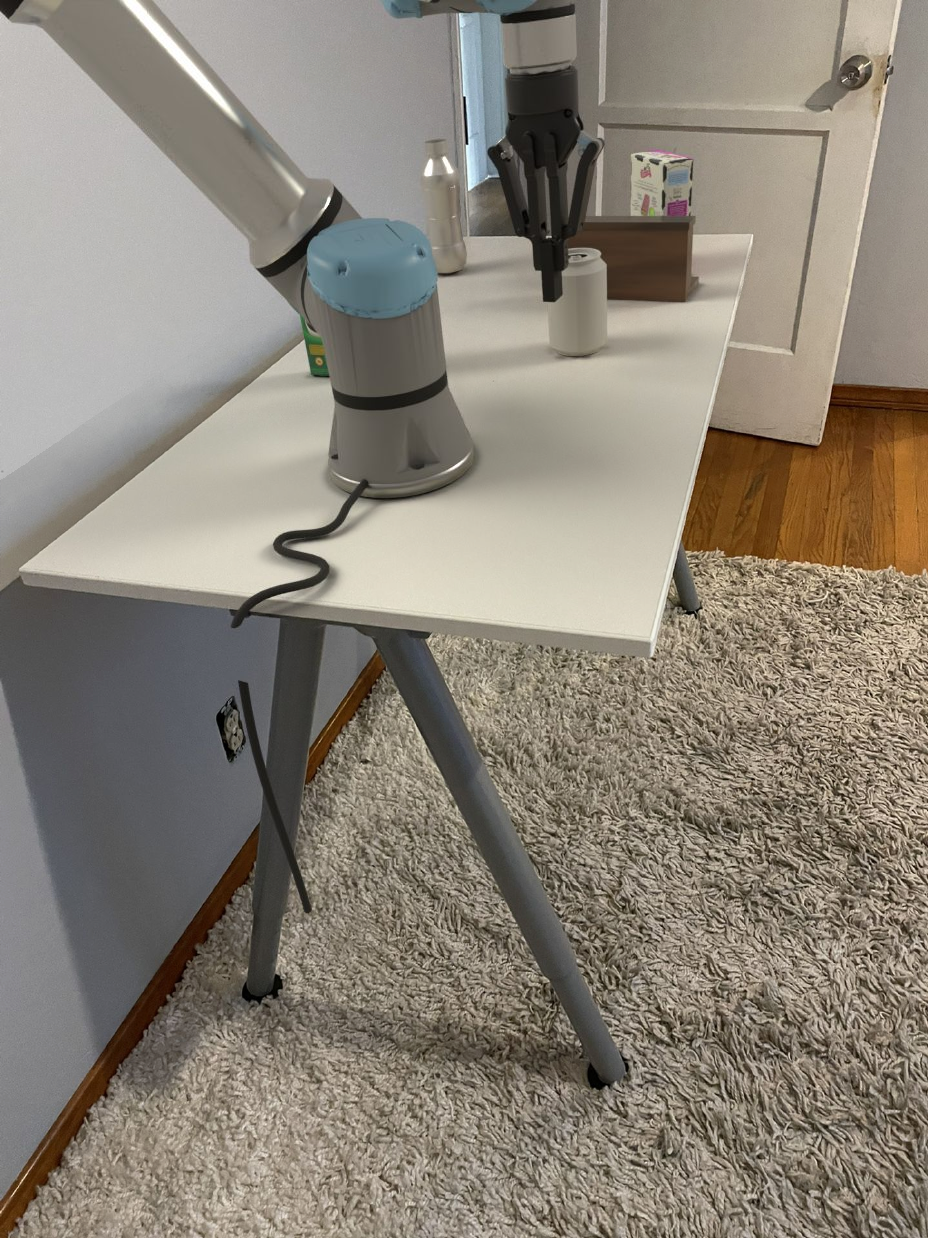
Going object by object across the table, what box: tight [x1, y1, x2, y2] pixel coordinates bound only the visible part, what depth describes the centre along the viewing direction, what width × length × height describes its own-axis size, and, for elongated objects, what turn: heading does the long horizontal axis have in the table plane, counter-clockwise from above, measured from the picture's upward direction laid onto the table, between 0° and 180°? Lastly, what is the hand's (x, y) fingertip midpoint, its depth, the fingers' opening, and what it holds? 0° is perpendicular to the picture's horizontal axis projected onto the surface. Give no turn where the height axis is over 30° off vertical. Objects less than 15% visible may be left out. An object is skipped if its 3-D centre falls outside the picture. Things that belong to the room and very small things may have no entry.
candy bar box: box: [629, 149, 694, 216], centre depth 139 cm, size 11×5×16 cm, turn 17°
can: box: [547, 248, 608, 357], centre depth 116 cm, size 8×8×12 cm
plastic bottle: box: [418, 138, 468, 274], centre depth 149 cm, size 6×7×20 cm
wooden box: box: [568, 215, 700, 303], centre depth 134 cm, size 8×18×11 cm, turn 65°
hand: (552, 298), depth 108 cm, fingers closed
